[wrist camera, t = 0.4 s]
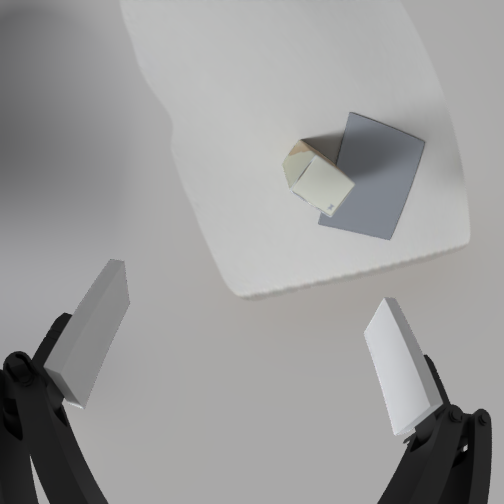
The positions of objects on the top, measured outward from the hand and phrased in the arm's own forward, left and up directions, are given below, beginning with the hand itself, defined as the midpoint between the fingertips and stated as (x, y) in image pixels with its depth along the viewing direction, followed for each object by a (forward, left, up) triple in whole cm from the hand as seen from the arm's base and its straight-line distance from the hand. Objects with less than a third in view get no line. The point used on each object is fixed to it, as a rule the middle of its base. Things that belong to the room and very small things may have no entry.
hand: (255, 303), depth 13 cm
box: (-2, +6, -25) cm, 26 cm away
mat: (-2, +16, -25) cm, 30 cm away
